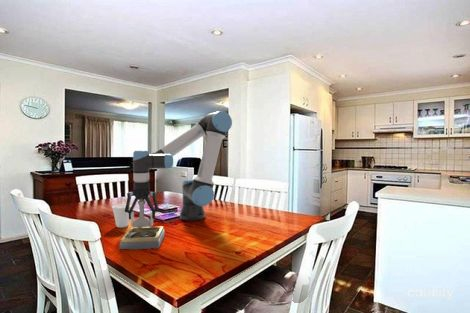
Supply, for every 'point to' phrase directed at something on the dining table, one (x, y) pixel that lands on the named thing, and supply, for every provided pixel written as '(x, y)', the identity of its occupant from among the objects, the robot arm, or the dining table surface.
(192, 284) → the dining table surface
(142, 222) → the potion bottle
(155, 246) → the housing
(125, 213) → the cup
